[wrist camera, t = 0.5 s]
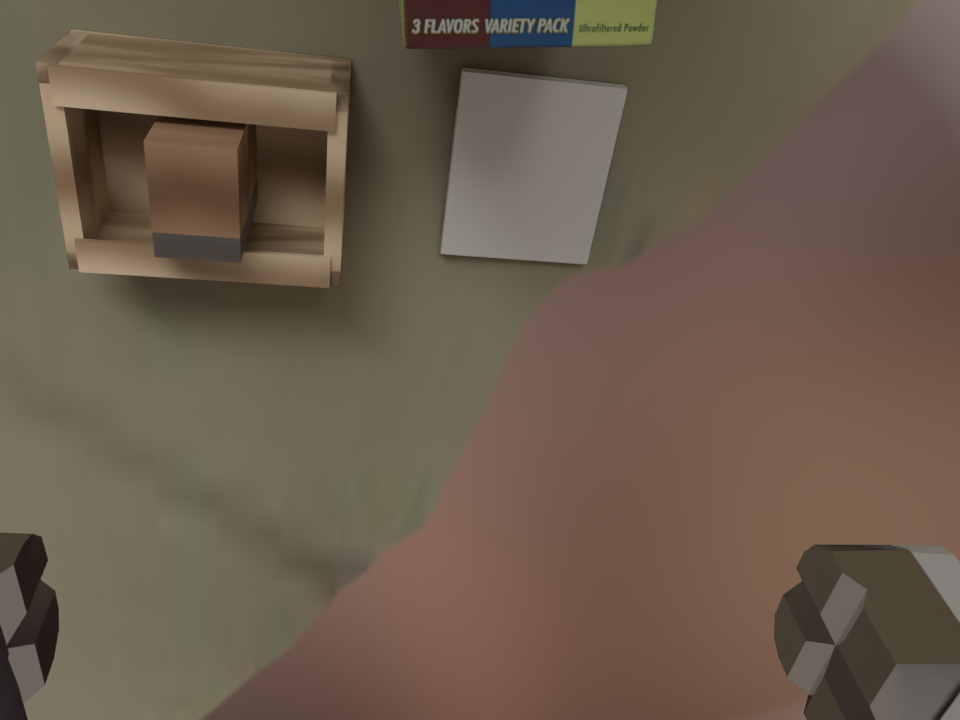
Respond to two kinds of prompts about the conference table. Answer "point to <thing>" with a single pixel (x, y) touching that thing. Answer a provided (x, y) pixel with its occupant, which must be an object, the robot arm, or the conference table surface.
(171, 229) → the capped block
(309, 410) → the conference table surface
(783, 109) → the conference table surface
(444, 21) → the protein box
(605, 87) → the felt pad
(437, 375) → the conference table surface
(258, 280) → the brown wooden open box
